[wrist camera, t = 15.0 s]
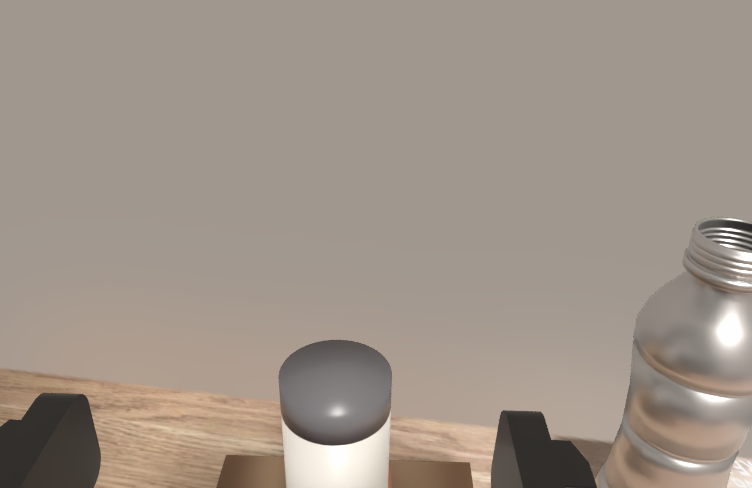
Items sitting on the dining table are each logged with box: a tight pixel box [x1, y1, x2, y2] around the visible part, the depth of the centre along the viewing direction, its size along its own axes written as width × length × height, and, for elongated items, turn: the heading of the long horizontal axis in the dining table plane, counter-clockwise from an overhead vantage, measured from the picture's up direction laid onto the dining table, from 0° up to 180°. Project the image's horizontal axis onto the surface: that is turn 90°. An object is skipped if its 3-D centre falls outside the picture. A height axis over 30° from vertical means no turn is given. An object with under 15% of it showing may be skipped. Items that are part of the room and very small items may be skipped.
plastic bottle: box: [595, 217, 752, 488], centre depth 32 cm, size 6×7×20 cm
